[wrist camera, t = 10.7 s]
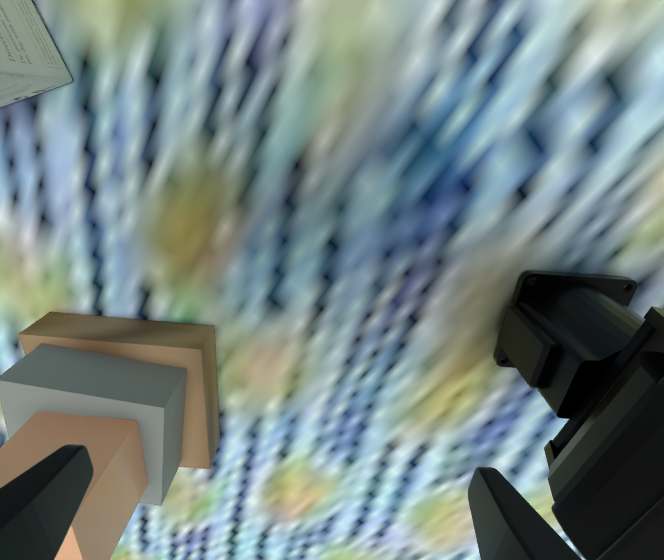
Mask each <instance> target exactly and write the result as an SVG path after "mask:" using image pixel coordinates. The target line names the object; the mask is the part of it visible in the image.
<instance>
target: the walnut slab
mask: <svg viewBox="0 0 664 560" xmlns="http://www.w3.org/2000/svg"><path fill="white" fill-rule="evenodd" d="M18 335H19V338H20V341H21V344H22V347H23V350H24V353H25V356H26V355H27V354H29V353H30V352H31V351H32V350H34V349H35V348H36V347H37V346H39V345H40V344H41V343H45V344H51V345H56V346H62V347H67V348H73V349H78V350H84V351H90V352H95V353H101V354H106V355H112V356H118V357H123V358H129V359H134V360H140V361H146V362H151V363H157V364H162V365H168V366H173V367H179V368H185V369H187V376H186V392H185V407H184V423H183V439H182V455H181V462H180V465H179V467H188V468H202V469H210V467H211V464H212V462H213V459H214V456H215V453H216V450H217V447H218V444H219V442H220V425H219V405H218V386H217V366H216V347H215V328H214V326H208V325H196V324H185V323H173V322H162V321H150V320H139V319H128V318H116V317H105V316H93V315H82V314H70V313H59V312H49V313H48V314H46V315H45V316H43V317H42V318H41V319H39V320H38V321H36V322H35V323H33V324H32V325H31V326H29V327H28V328H26V329H25V330H23V331H22V332H21V333H19V334H18Z"/></svg>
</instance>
